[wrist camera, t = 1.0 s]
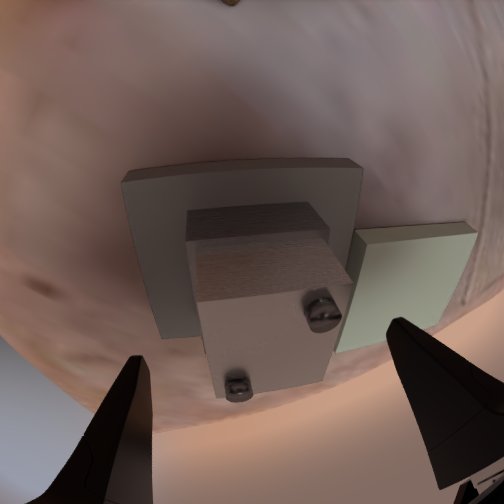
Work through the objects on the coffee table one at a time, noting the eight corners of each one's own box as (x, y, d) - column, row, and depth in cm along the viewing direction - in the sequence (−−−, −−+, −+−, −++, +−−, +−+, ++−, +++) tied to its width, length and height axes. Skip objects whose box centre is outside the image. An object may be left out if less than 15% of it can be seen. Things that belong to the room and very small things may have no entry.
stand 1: (348, 158, 13) (363, 168, 11) (325, 300, 18) (333, 317, 16) (128, 171, 11) (120, 182, 10) (162, 319, 16) (161, 339, 15)
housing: (308, 201, 12) (371, 283, 7) (296, 305, 15) (330, 392, 11) (187, 210, 11) (183, 308, 7) (202, 316, 15) (210, 412, 10)
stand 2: (465, 222, 16) (478, 232, 15) (427, 312, 21) (436, 324, 20) (354, 229, 15) (367, 244, 14) (328, 338, 20) (335, 353, 19)
